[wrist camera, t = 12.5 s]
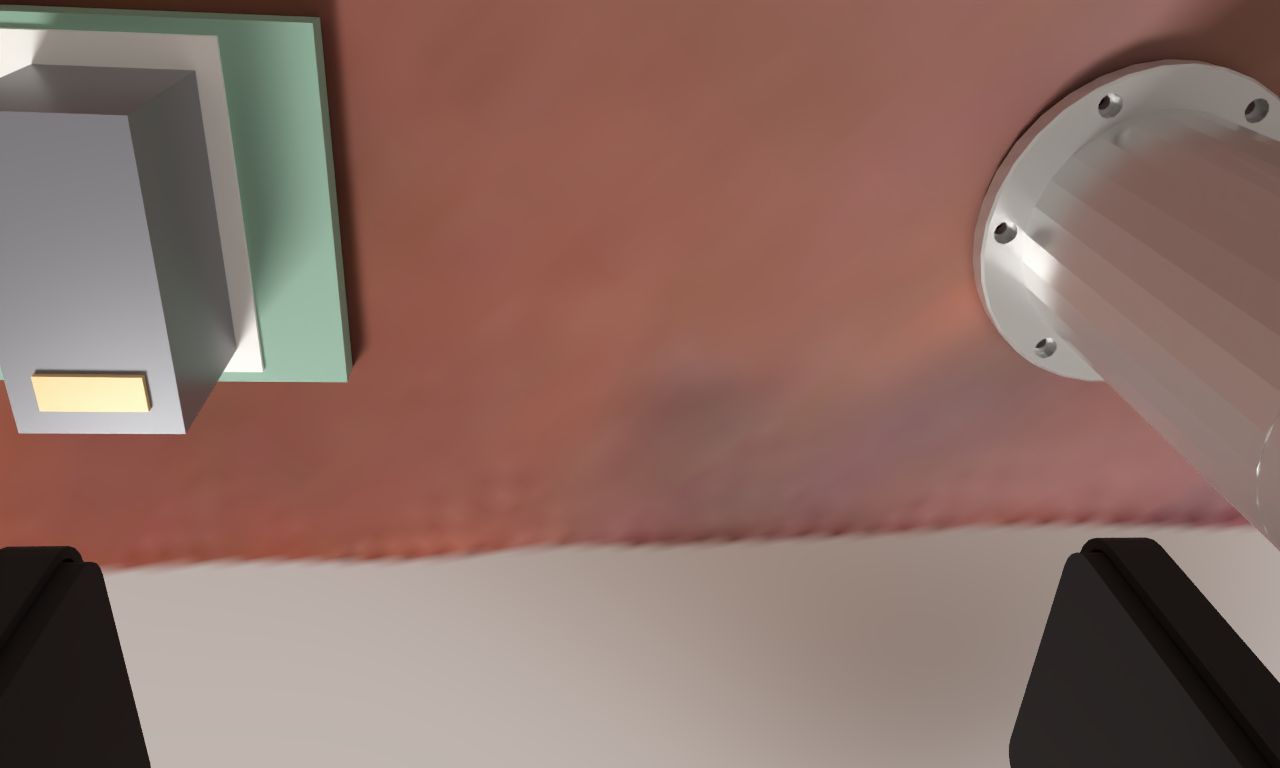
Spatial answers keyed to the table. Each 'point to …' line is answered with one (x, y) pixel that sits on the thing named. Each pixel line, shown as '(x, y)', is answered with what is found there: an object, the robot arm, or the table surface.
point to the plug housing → (108, 251)
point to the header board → (238, 163)
